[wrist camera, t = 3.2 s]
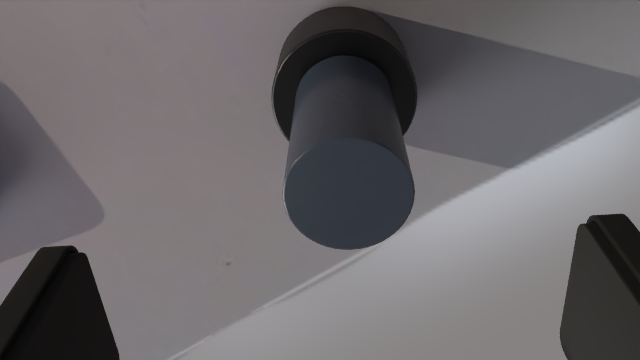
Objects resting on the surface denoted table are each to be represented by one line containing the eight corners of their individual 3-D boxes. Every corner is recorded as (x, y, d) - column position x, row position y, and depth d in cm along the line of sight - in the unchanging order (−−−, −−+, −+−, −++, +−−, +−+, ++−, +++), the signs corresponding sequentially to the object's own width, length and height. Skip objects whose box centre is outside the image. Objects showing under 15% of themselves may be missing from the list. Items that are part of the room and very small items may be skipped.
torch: (407, 1, 21) (452, 98, 13) (407, 126, 23) (445, 271, 16) (271, 10, 21) (236, 111, 13) (284, 133, 24) (261, 279, 16)
